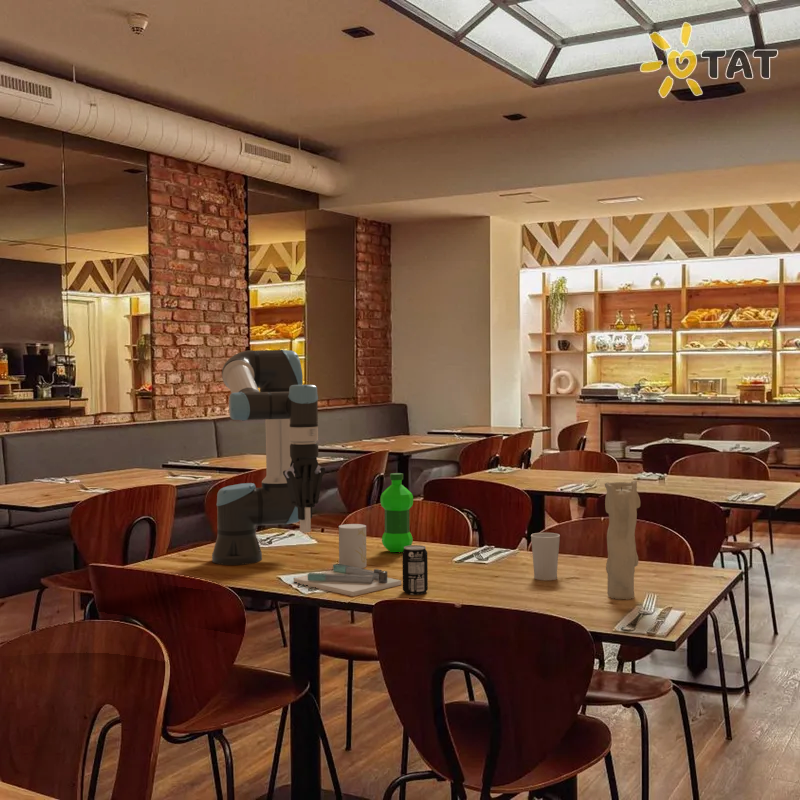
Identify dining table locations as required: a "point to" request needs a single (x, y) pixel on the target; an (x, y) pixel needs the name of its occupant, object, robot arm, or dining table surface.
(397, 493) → the plastic bottle
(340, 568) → the tongs fixed
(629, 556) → the beige lumpy column
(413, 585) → the beverage can
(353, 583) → the rest board
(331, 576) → the bar
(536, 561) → the cup
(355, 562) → the cup
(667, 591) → the dining table surface
